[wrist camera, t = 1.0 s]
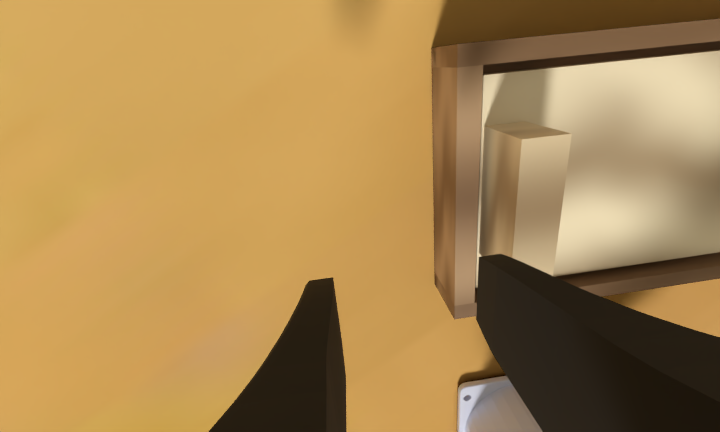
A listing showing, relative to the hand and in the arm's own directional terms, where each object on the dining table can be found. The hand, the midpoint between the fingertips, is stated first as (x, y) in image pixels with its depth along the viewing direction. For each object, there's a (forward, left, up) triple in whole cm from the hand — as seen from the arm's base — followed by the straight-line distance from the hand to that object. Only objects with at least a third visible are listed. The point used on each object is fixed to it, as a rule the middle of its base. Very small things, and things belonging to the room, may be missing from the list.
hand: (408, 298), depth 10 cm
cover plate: (0, -12, -8) cm, 15 cm away
